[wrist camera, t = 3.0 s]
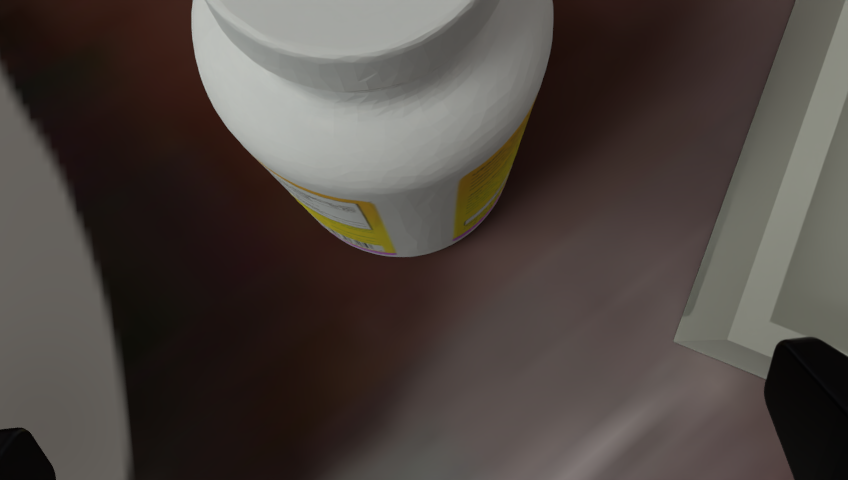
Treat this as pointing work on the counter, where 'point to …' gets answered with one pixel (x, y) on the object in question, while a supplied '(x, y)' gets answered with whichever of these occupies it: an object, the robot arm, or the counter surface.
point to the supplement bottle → (379, 106)
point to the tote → (783, 209)
